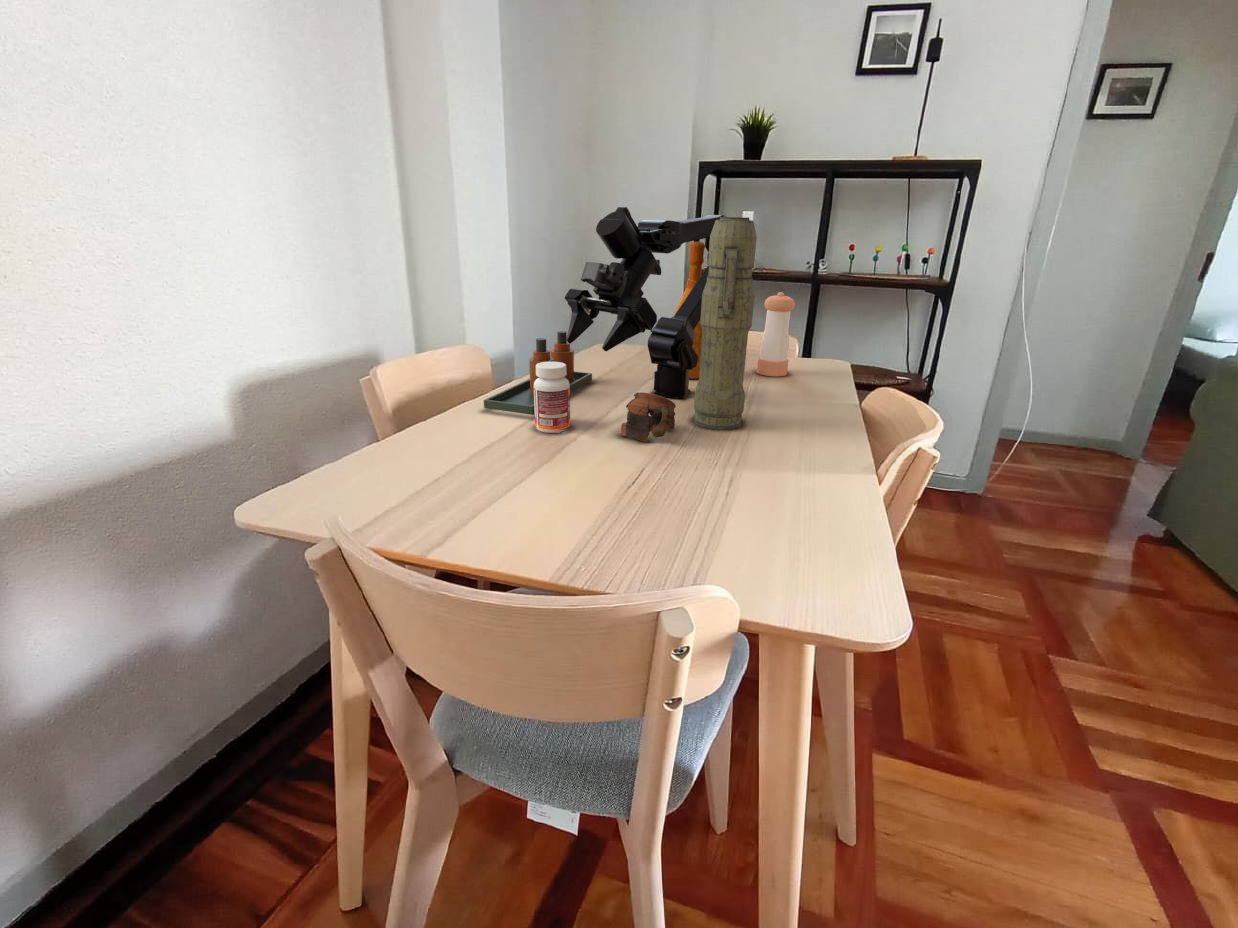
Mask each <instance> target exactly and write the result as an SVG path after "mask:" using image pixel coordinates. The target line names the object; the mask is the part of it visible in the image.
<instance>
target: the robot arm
mask: <svg viewBox="0 0 1238 928" xmlns="http://www.w3.org/2000/svg"><path fill="white" fill-rule="evenodd" d="M720 217H727V216H726V215H725V214H707V215H705V216H702V217H696V218H689V219H683V220H678V221H677V220H670V219H669V220H668V219H666V220H665V219H663V220H662V219H642V220H639V222H638V223H636V222H635V220H634V219H633V217H632V214H631V212H630V210H629V208H628V207H627V206H618V207H617V208H616V209H615V211H613V212H610V213H608V214H607V215H605V216H604V217H603V218H601V219H599V221H598V223H597V224H596V226H595V232H596V234H597V236H598V238H600V240H601V242H602V243H603V244H604V246H605V248H606V249H607V250H608V252H609V253H610V255H611V257H613V259H614V258H615V259H616V260H617V259H619V260H620V259H621V261H620V262H613V261H612V262H611V263H609V264H604V263H601V262H593V261H586V262H585V264H584V268H583V270H582V274H581V277H580V281H581V282H583V283H587V284H589V285H590V286H591V287H594V288H593V289H592V291H593V293H594V294H595V295H597V296H598V298H594V296H593V295H592V293H590V291H589V290H588V289H583V288H576V287H575V288H569V289H568V291H567V292H566V294H565V295H564V300H565V302H567V305H568V306H569V307H570V310H571V315H570V322H569V326H568V331H567V339H566V340H567V342H568V343H570V344H572V343H574V342H575V341H576V340H577V339H578V338H579V337H581V335H583V333H584V332H585V331H586V330H588V329H589V327H591V326H592V325H593V324H594V323H595V321H594V319H596V318H597V317H598V316H599V314H600V312H604V313H610V314H611V315H616V321H615V323H614V324H613V326H612V328H611V329H610V331H609V333H608V334H607V336H606V338H605V340H604V342H603V344H602V346H601V349H602V350H603V351H604V352H609V351H610V350H611V349H614V348H615V347H617V346H618V345H620V344H622V343H623V342H625V341H627V340H628V339H632V338H633V337H635V336H636V335H638V334H641V333H645V332H646V330H647V331H650V334H649V336H648V339H647V349H648V352H649V353H648V354H649V358H650V363H651V365H652V364H653V365H656V370H655V371H654V373H653V375H654V376H653V391H654V392H653V393H652V394H655V395H658V396H662V397H664V398H671V399H681V400H683V399H684V398H685V397H687V396H688V395H689V394H690V393H691V389H689V385H690V384H689V383H690V379H689V370H691V369H693V368H694V367H696V365H697V362H698V356H697V354H696V352H695V351H694V349H693V348H692V345H693V343H694V329H695V327H696V326H697V324H698V323H699V321H700V319H701V305H702V293H703V290H704V288H705V285H706V283H707V276H708V273H709V267H708V265H707V266H706V268H705V270H704V271H703V272H702V276H701V277H700V279H699V280H698V282H697V283H696V285H695V286H694V288H693V289H692V290H691V292H690V293H689V295H688V296H687V298H686V299H685V301H684V302H683V304H682V305H681V307H680V308H679V310H678V311H677V313H676V314H675V313H674V314H675V315H674V314H673V316H671V317H666V316H661V317H660V318H659V319H658V314H657V313H656V311H655V310H654V308H653V307H652V305H651V304H650V302H649V301H648V299H647V298H646V297H643V296H644V294H645V293H644V291H643V289H642V288H643V286H645V283H646V282H647V280H648V278H649V277H650V276H651V275H652V276H653V275H654V276H661V275H662V267H661V260H660V259H656V257H655V256H654V254H671V253H673V252H674V251H676V250H677V251H678V250H679V249H680V248H681V247H682V245H683V244H685V243H691V242H696V241H699V240H704V245H705V249H706V251H707V259H708V257H709V243H710V235H711V232H712V229H713V227H714V224H715V221H716V220H720Z"/></svg>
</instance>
